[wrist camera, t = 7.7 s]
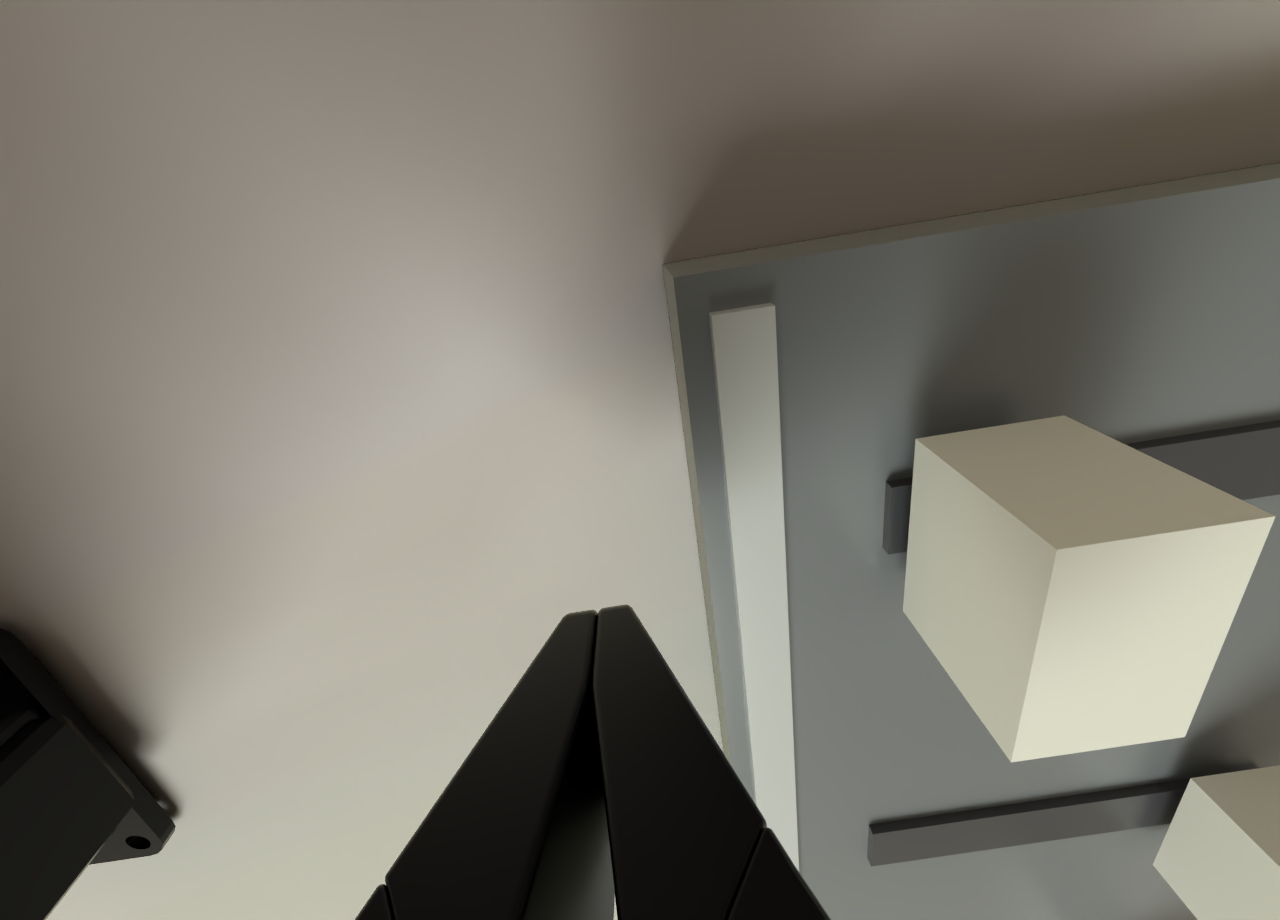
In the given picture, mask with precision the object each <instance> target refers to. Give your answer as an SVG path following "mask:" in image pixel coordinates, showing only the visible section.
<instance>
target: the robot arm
mask: <svg viewBox="0 0 1280 920" xmlns="http://www.w3.org/2000/svg"><path fill="white" fill-rule="evenodd" d="M174 831H175V825H174V823H173V821H172V820H171V818H170V817H169V816H168V815H167V814H166V812H165V811H164V810H163V809H162V808H161V807H160V805H159V804H158V803H157V802H156V801H155V799H154V798H153V797H152V796H151V795H150V793H149V792H148V791H147V790H146V789H145V788H144V786H143V785H142V784H141V783H140V782H139V780H138V779H137V778H136V777H135V776H134V775H133V773H132V772H131V771H130V770H129V769H128V767H127V766H126V765H125V764H124V763H123V761H122V760H121V759H120V758H119V757H118V756H117V754H116V753H115V752H114V751H113V750H112V748H111V747H110V746H109V745H108V744H107V743H106V741H105V740H104V739H103V738H102V737H101V735H100V734H99V733H98V732H97V731H96V729H95V728H94V727H93V726H92V725H91V724H90V722H89V721H88V720H87V719H86V718H85V716H84V715H83V714H82V713H81V712H80V711H79V709H78V708H77V707H76V706H75V705H74V703H73V702H72V701H71V700H70V699H69V697H68V696H67V695H66V694H65V693H64V692H63V690H62V689H61V688H60V687H59V686H58V684H57V683H56V682H55V681H54V680H53V679H52V677H51V676H50V675H49V674H48V673H47V671H46V670H45V669H44V668H43V667H42V665H41V664H40V663H39V662H38V661H37V660H36V658H35V657H34V656H33V655H32V654H31V652H30V651H29V650H28V649H27V648H26V646H25V645H24V644H23V643H22V642H21V641H20V640H19V639H18V638H17V637H15V636H14V635H13V634H11V633H9V632H7V631H5V630H3V629H1V628H0V920H46V919H47V917H48V916H49V915H50V914H51V912H52V911H53V910H54V908H55V907H56V906H57V905H58V903H59V902H60V901H61V899H62V898H63V897H64V896H65V894H66V893H67V892H68V890H69V889H70V888H71V887H72V885H73V884H74V883H75V881H76V880H77V879H78V878H79V876H80V875H81V874H82V872H83V871H84V870H85V869H86V867H87V866H88V865H90V864H96V863H103V862H110V861H117V860H124V859H130V858H137V857H144V856H150V855H154V854H157V853H158V852H160V851H161V850H162V849H163V847H164V846H165V844H166V843H167V841H168V840H169V838H170V837H171V836H172V834H173V833H174ZM385 882H386V885H385V884H381V885H379V886H378V887H377V888H376V890H375V891H374V893H373V894H372V896H371V897H370V898H369V900H368V901H367V903H366V904H365V906H364V907H363V909H362V910H361V912H360V913H359V914H358V916H357V917H356V919H355V920H613V917H614V896H615V898H616V907H617V916H618V920H831V919H830V917H829V916H828V914H827V913H826V911H825V910H824V908H823V907H822V905H821V904H820V902H819V901H818V899H817V898H816V896H815V895H814V893H813V892H812V891H811V889H810V888H809V886H808V885H807V883H806V882H805V880H804V879H803V877H802V876H801V874H800V873H799V871H798V870H797V868H796V867H795V865H794V864H793V862H792V860H791V859H790V857H789V856H788V854H787V852H786V851H785V849H784V848H783V846H782V845H781V843H780V841H779V840H778V838H777V837H776V835H775V833H774V832H773V830H772V829H771V828H767V823H766V820H765V818H764V817H763V815H762V814H761V812H760V810H759V809H758V807H757V806H756V804H755V803H754V801H753V799H752V798H751V796H750V795H749V793H748V791H747V790H746V788H745V787H744V785H743V783H742V782H741V780H740V779H739V777H738V776H737V774H736V772H735V771H734V769H733V768H732V766H731V764H730V763H729V761H728V760H727V758H726V757H725V755H724V753H723V752H722V750H721V749H720V747H719V745H718V744H717V742H716V741H715V739H714V737H713V736H712V734H711V733H710V731H709V730H708V728H707V726H706V725H705V723H704V722H703V720H702V718H701V717H700V715H699V714H698V712H697V710H696V709H695V707H694V706H693V704H692V703H691V701H690V699H689V698H688V696H687V695H686V693H685V691H684V690H683V688H682V687H681V685H680V684H679V682H678V680H677V679H676V677H675V676H674V674H673V672H672V671H671V669H670V668H669V666H668V664H667V663H666V661H665V660H664V658H663V657H662V655H661V653H660V652H659V650H658V649H657V647H656V645H655V644H654V642H653V641H652V639H651V637H650V636H649V634H648V633H647V631H646V630H645V628H644V626H643V625H642V623H641V622H640V620H639V618H638V617H637V615H636V614H635V612H634V610H633V609H632V608H631V607H630V606H629V605H620V606H614V607H607V608H602V609H601V610H600V611H599V613H597V612H596V611H594V610H588V611H581V612H575V613H569V614H567V615H565V616H564V617H563V618H562V620H561V621H560V623H559V624H558V626H557V627H556V628H555V630H554V631H553V633H552V634H551V636H550V637H549V639H548V640H547V642H546V643H545V644H544V646H543V647H542V649H541V650H540V652H539V653H538V655H537V656H536V658H535V659H534V660H533V662H532V663H531V665H530V666H529V668H528V669H527V671H526V672H525V674H524V675H523V676H522V678H521V679H520V681H519V682H518V684H517V685H516V687H515V688H514V690H513V691H512V692H511V694H510V695H509V697H508V698H507V700H506V701H505V703H504V704H503V706H502V707H501V708H500V710H499V711H498V713H497V714H496V716H495V717H494V719H493V720H492V722H491V723H490V724H489V726H488V727H487V729H486V730H485V732H484V733H483V735H482V736H481V738H480V739H479V740H478V742H477V743H476V745H475V746H474V748H473V749H472V751H471V752H470V754H469V755H468V756H467V758H466V759H465V761H464V762H463V764H462V765H461V767H460V768H459V770H458V771H457V772H456V774H455V775H454V777H453V778H452V780H451V781H450V783H449V784H448V786H447V787H446V788H445V790H444V791H443V793H442V794H441V796H440V797H439V799H438V800H437V802H436V803H435V804H434V806H433V807H432V809H431V810H430V812H429V813H428V815H427V816H426V818H425V819H424V820H423V822H422V823H421V825H420V826H419V828H418V829H417V831H416V832H415V834H414V835H413V836H412V838H411V839H410V841H409V842H408V844H407V845H406V847H405V848H404V850H403V851H402V852H401V854H400V855H399V857H398V858H397V860H396V861H395V863H394V864H393V866H392V867H391V868H390V870H389V871H388V873H387V874H386V877H385Z"/></svg>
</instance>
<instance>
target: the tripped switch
mask: <svg viewBox="0 0 1280 920" xmlns="http://www.w3.org/2000/svg"><path fill="white" fill-rule="evenodd" d="M1275 517H1276V516H1274V515H1272V514H1270V513H1268V512H1266V511H1264V510H1261V509H1259V508H1257V507H1255V506H1253V505H1251V504H1249V503H1247V502H1245V501H1243V500H1241V499H1238V498H1236V497H1234V496H1232V495H1230V494H1228V493H1226V492H1224V491H1222V490H1220V489H1217V488H1215V487H1213V486H1211V485H1209V484H1207V483H1205V482H1203V481H1201V480H1199V479H1197V478H1194V477H1192V476H1190V475H1188V474H1186V473H1184V472H1182V471H1180V470H1178V469H1176V468H1174V467H1171V466H1169V465H1167V464H1165V463H1163V462H1161V461H1159V460H1157V459H1155V458H1153V457H1150V456H1148V455H1146V454H1144V453H1142V452H1140V451H1138V450H1136V449H1134V448H1132V447H1130V446H1127V445H1125V444H1123V443H1121V442H1119V441H1117V440H1115V439H1113V438H1111V437H1109V436H1106V435H1104V434H1102V433H1100V432H1098V431H1096V430H1094V429H1092V428H1090V427H1088V426H1086V425H1083V424H1081V423H1079V422H1077V421H1075V420H1073V419H1071V418H1069V417H1067V416H1065V415H1063V416H1057V417H1050V418H1044V419H1038V420H1031V421H1025V422H1019V423H1012V424H1006V425H1000V426H993V427H987V428H981V429H974V430H968V431H961V432H955V433H949V434H942V435H936V436H930V437H923V438H917V439H915V453H914V466H913V480H912V493H911V507H910V521H909V534H908V548H907V562H906V575H905V589H904V602H903V612H904V613H905V614H906V616H907V617H908V619H909V620H910V622H911V623H912V624H913V626H914V627H915V629H916V630H917V631H918V633H919V634H920V636H921V637H922V638H923V640H924V641H925V643H926V644H927V645H928V647H929V648H930V650H931V651H932V652H933V654H934V655H935V657H936V658H937V659H938V661H939V662H940V664H941V665H942V666H943V668H944V669H945V671H946V672H947V673H948V675H949V676H950V678H951V679H952V680H953V682H954V683H955V685H956V686H957V687H958V689H959V690H960V692H961V693H962V694H963V696H964V697H965V699H966V700H967V701H968V703H969V704H970V706H971V707H972V709H973V710H974V711H975V713H976V714H977V716H978V717H979V718H980V720H981V721H982V723H983V724H984V725H985V727H986V728H987V730H988V731H989V732H990V734H991V735H992V737H993V738H994V739H995V741H996V742H997V744H998V745H999V746H1000V748H1001V749H1002V751H1003V752H1004V753H1005V755H1006V756H1007V758H1008V759H1009V760H1010V762H1018V761H1025V760H1032V759H1039V758H1046V757H1052V756H1059V755H1066V754H1073V753H1080V752H1087V751H1093V750H1100V749H1107V748H1114V747H1121V746H1128V745H1134V744H1141V743H1148V742H1155V741H1162V740H1169V739H1175V738H1182V737H1185V736H1186V733H1187V731H1188V728H1189V726H1190V724H1191V721H1192V719H1193V716H1194V714H1195V711H1196V709H1197V706H1198V704H1199V702H1200V699H1201V697H1202V694H1203V692H1204V689H1205V687H1206V685H1207V682H1208V680H1209V677H1210V675H1211V672H1212V670H1213V668H1214V665H1215V663H1216V660H1217V658H1218V655H1219V653H1220V651H1221V648H1222V646H1223V643H1224V641H1225V638H1226V636H1227V633H1228V631H1229V629H1230V626H1231V624H1232V621H1233V619H1234V616H1235V614H1236V612H1237V609H1238V607H1239V604H1240V602H1241V599H1242V597H1243V595H1244V592H1245V590H1246V587H1247V585H1248V582H1249V580H1250V578H1251V575H1252V573H1253V570H1254V568H1255V565H1256V563H1257V560H1258V558H1259V556H1260V553H1261V551H1262V548H1263V546H1264V543H1265V541H1266V539H1267V536H1268V534H1269V531H1270V529H1271V526H1272V524H1273V522H1274V519H1275Z"/></svg>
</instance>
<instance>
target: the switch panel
mask: <svg viewBox="0 0 1280 920" xmlns="http://www.w3.org/2000/svg"><path fill="white" fill-rule="evenodd" d="M663 272H664V280H665V288H666V296H667V304H668V312H669V320H670V328H671V336H672V344H673V352H674V360H675V368H676V376H677V384H678V392H679V400H680V408H681V416H682V424H683V432H684V440H685V447H686V455H687V463H688V471H689V479H690V487H691V495H692V503H693V511H694V519H695V527H696V535H697V543H698V551H699V559H700V567H701V575H702V583H703V591H704V599H705V607H706V615H707V623H708V631H709V639H710V647H711V655H712V663H713V671H714V679H715V687H716V695H717V703H718V711H719V718H720V726H721V734H722V742H723V750H724V755H725V757H726V758H727V760H728V761H729V763H730V764H731V766H732V768H733V769H734V771H735V772H736V774H737V776H738V777H739V779H740V780H741V782H742V783H743V785H744V787H745V788H746V790H747V791H748V793H749V795H750V796H751V798H752V799H753V801H754V803H755V804H756V806H757V807H758V809H759V810H760V812H761V814H762V815H763V817H764V818H765V820H766V823H767V828H771V829H772V830H773V832H774V833H775V835H776V837H777V838H778V840H779V841H780V843H781V845H782V846H783V848H784V849H785V851H786V852H787V854H788V856H789V857H790V859H791V860H792V862H793V864H794V865H795V867H796V868H797V870H798V871H799V873H800V874H801V876H802V877H803V879H804V880H805V882H806V883H807V885H808V886H809V888H810V889H811V891H812V892H813V893H814V895H815V896H816V898H817V899H818V901H819V902H820V904H821V905H822V907H823V908H824V910H825V911H826V913H827V914H828V916H829V917H830V919H831V920H1197V918H1196V917H1195V916H1194V915H1193V914H1192V912H1191V911H1190V910H1189V909H1188V907H1187V906H1186V905H1185V904H1184V902H1183V901H1182V900H1181V899H1180V898H1179V896H1178V895H1177V894H1176V893H1175V891H1174V890H1173V889H1172V888H1171V887H1170V885H1169V884H1168V883H1167V882H1166V880H1165V879H1164V878H1163V877H1162V876H1161V874H1160V873H1159V872H1158V871H1157V869H1156V868H1155V867H1154V866H1153V863H1154V861H1155V858H1156V856H1157V854H1158V851H1159V849H1160V847H1161V845H1162V842H1163V840H1164V838H1165V835H1166V833H1167V831H1168V829H1169V826H1170V824H1171V822H1172V819H1173V817H1174V815H1175V813H1176V810H1177V808H1178V806H1179V804H1180V801H1181V799H1182V797H1183V794H1184V792H1185V790H1186V788H1187V785H1188V783H1189V781H1190V778H1195V777H1202V776H1209V775H1216V774H1223V773H1230V772H1237V771H1243V770H1250V769H1257V768H1264V767H1271V766H1278V765H1280V163H1276V164H1270V165H1264V166H1258V167H1252V168H1246V169H1240V170H1234V171H1228V172H1222V173H1216V174H1209V175H1203V176H1197V177H1191V178H1185V179H1179V180H1173V181H1167V182H1161V183H1155V184H1149V185H1142V186H1136V187H1130V188H1124V189H1118V190H1112V191H1106V192H1100V193H1094V194H1088V195H1082V196H1076V197H1069V198H1063V199H1057V200H1051V201H1045V202H1039V203H1033V204H1027V205H1021V206H1015V207H1009V208H1002V209H996V210H990V211H984V212H978V213H972V214H966V215H960V216H954V217H948V218H942V219H936V220H929V221H923V222H917V223H911V224H905V225H899V226H893V227H887V228H881V229H875V230H869V231H862V232H856V233H850V234H844V235H838V236H832V237H826V238H820V239H814V240H808V241H802V242H796V243H789V244H783V245H777V246H771V247H765V248H759V249H753V250H747V251H741V252H735V253H729V254H722V255H716V256H710V257H704V258H698V259H692V260H686V261H680V262H674V263H668V264H663ZM1063 415H1065V416H1067V417H1069V418H1071V419H1073V420H1075V421H1077V422H1079V423H1081V424H1083V425H1086V426H1088V427H1090V428H1092V429H1094V430H1096V431H1098V432H1100V433H1102V434H1104V435H1106V436H1109V437H1111V438H1113V439H1115V440H1117V441H1119V442H1121V443H1123V444H1125V445H1127V446H1130V447H1132V448H1134V449H1136V450H1138V451H1140V452H1142V453H1144V454H1146V455H1148V456H1150V457H1153V458H1155V459H1157V460H1159V461H1161V462H1163V463H1165V464H1167V465H1169V466H1171V467H1174V468H1176V469H1178V470H1180V471H1182V472H1184V473H1186V474H1188V475H1190V476H1192V477H1194V478H1197V479H1199V480H1201V481H1203V482H1205V483H1207V484H1209V485H1211V486H1213V487H1215V488H1217V489H1220V490H1222V491H1224V492H1226V493H1228V494H1230V495H1232V496H1234V497H1236V498H1238V499H1241V500H1243V501H1245V502H1247V503H1249V504H1251V505H1253V506H1255V507H1257V508H1259V509H1261V510H1264V511H1266V512H1268V513H1270V514H1272V515H1274V516H1276V517H1275V519H1274V522H1273V524H1272V526H1271V529H1270V531H1269V534H1268V536H1267V539H1266V541H1265V543H1264V546H1263V548H1262V551H1261V553H1260V556H1259V558H1258V560H1257V563H1256V565H1255V568H1254V570H1253V573H1252V575H1251V578H1250V580H1249V582H1248V585H1247V587H1246V590H1245V592H1244V595H1243V597H1242V599H1241V602H1240V604H1239V607H1238V609H1237V612H1236V614H1235V616H1234V619H1233V621H1232V624H1231V626H1230V629H1229V631H1228V633H1227V636H1226V638H1225V641H1224V643H1223V646H1222V648H1221V651H1220V653H1219V655H1218V658H1217V660H1216V663H1215V665H1214V668H1213V670H1212V672H1211V675H1210V677H1209V680H1208V682H1207V685H1206V687H1205V689H1204V692H1203V694H1202V697H1201V699H1200V702H1199V704H1198V706H1197V709H1196V711H1195V714H1194V716H1193V719H1192V721H1191V724H1190V726H1189V728H1188V731H1187V733H1186V736H1185V737H1182V738H1175V739H1169V740H1162V741H1155V742H1148V743H1141V744H1134V745H1128V746H1121V747H1114V748H1107V749H1100V750H1093V751H1087V752H1080V753H1073V754H1066V755H1059V756H1052V757H1046V758H1039V759H1032V760H1025V761H1018V762H1010V760H1009V759H1008V758H1007V756H1006V755H1005V753H1004V752H1003V751H1002V749H1001V748H1000V746H999V745H998V744H997V742H996V741H995V739H994V738H993V737H992V735H991V734H990V732H989V731H988V730H987V728H986V727H985V725H984V724H983V723H982V721H981V720H980V718H979V717H978V716H977V714H976V713H975V711H974V710H973V709H972V707H971V706H970V704H969V703H968V701H967V700H966V699H965V697H964V696H963V694H962V693H961V692H960V690H959V689H958V687H957V686H956V685H955V683H954V682H953V680H952V679H951V678H950V676H949V675H948V673H947V672H946V671H945V669H944V668H943V666H942V665H941V664H940V662H939V661H938V659H937V658H936V657H935V655H934V654H933V652H932V651H931V650H930V648H929V647H928V645H927V644H926V643H925V641H924V640H923V638H922V637H921V636H920V634H919V633H918V631H917V630H916V629H915V627H914V626H913V624H912V623H911V622H910V620H909V619H908V617H907V616H906V614H905V613H904V612H903V602H904V589H905V575H906V562H907V548H908V534H909V521H910V507H911V493H912V480H913V466H914V453H915V439H917V438H923V437H930V436H936V435H942V434H949V433H955V432H961V431H968V430H974V429H981V428H987V427H993V426H1000V425H1006V424H1012V423H1019V422H1025V421H1031V420H1038V419H1044V418H1050V417H1057V416H1063Z"/></svg>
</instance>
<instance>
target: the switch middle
mask: <svg viewBox="0 0 1280 920" xmlns="http://www.w3.org/2000/svg"><path fill="white" fill-rule="evenodd" d="M1153 866H1154V867H1155V868H1156V869H1157V871H1158V872H1159V873H1160V874H1161V876H1162V877H1163V878H1164V879H1165V880H1166V882H1167V883H1168V884H1169V885H1170V887H1171V888H1172V889H1173V890H1174V891H1175V893H1176V894H1177V895H1178V896H1179V898H1180V899H1181V900H1182V901H1183V902H1184V904H1185V905H1186V906H1187V907H1188V909H1189V910H1190V911H1191V912H1192V914H1193V915H1194V916H1195V917H1196V918H1197V920H1280V765H1278V766H1271V767H1264V768H1257V769H1250V770H1243V771H1237V772H1230V773H1223V774H1216V775H1209V776H1202V777H1195V778H1190V781H1189V783H1188V785H1187V788H1186V790H1185V792H1184V794H1183V797H1182V799H1181V801H1180V804H1179V806H1178V808H1177V810H1176V813H1175V815H1174V817H1173V819H1172V822H1171V824H1170V826H1169V829H1168V831H1167V833H1166V835H1165V838H1164V840H1163V842H1162V845H1161V847H1160V849H1159V851H1158V854H1157V856H1156V858H1155V861H1154V863H1153Z"/></svg>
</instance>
